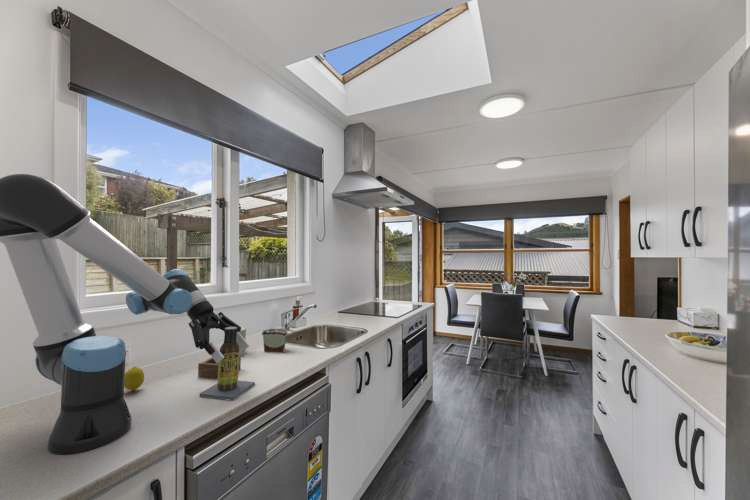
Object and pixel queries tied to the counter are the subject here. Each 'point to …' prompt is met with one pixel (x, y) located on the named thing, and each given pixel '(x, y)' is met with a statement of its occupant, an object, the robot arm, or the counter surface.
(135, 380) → the lemon
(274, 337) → the food container
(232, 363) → the sauce bottle
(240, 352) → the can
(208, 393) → the rubber mat
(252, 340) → the counter surface
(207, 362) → the walnut sleeve
